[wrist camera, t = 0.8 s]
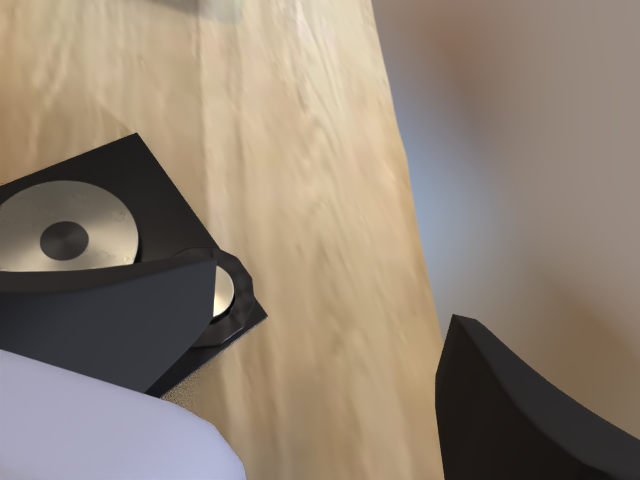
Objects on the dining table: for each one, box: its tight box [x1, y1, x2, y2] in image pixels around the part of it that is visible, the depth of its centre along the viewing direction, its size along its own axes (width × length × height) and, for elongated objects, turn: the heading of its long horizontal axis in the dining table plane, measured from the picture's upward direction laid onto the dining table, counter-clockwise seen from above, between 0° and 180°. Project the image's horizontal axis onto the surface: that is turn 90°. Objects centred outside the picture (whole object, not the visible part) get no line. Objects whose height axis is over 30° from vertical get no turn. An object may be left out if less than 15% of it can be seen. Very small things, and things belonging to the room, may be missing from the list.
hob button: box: [212, 266, 234, 320], centre depth 23 cm, size 3×3×2 cm
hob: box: [0, 133, 268, 399], centre depth 23 cm, size 12×16×3 cm
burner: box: [0, 181, 139, 271], centre depth 22 cm, size 8×8×1 cm
